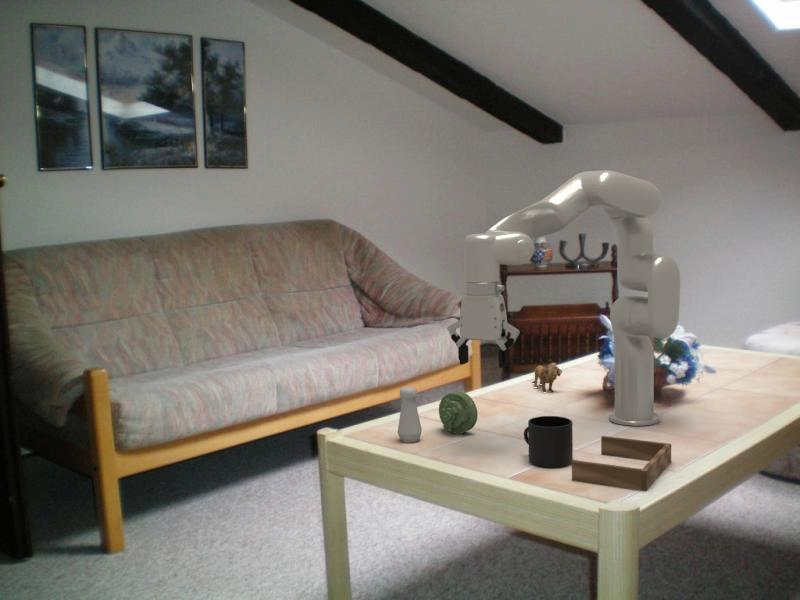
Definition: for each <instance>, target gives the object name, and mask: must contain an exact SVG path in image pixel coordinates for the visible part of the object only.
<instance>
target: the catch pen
mask: <svg viewBox="0 0 800 600" xmlns="http://www.w3.org/2000/svg"><path fill="white" fill-rule="evenodd" d="M600 440H601V441H600V442H601V443H600V444H601V445H600V447H601V449H600V452H601V455H602V456H611V457H617V458H627V459H634V460H640V461H641V460H642V461H648V462H647V463H646V464H645V465H644V467H642V468H638V467H637V468H636V467H630V466H629V467H628V466H623V465H621V466H620V465H616V464H615V465H614V464H613V465H612V464H608V463H607V464H606V463H599V462H592V461H585V460H578V459H573V461H572V463H571V481H575V482H580V481H581V483H587V484H593V485H594V484H595V485H601V486H602V485H603V486H608V487H614V488H621V489H622V488H623V489H629V490H635V491H640V492H641V491H643V492H646V491H648V490H649V488H650V487H651V486H652V485H653V484H654V483H655V481H656V480H657V479H658V478H659V477H660V475H661V474H662V473H663V472H664V471H665V470H666V468H667V467H668V466H669V465H670V464H671V463H672V443H669V442H668V443H666V442H658V441H648V440H640V439H632V438H624V437H615V436H607V435H602V436H601V439H600Z"/></svg>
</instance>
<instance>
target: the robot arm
mask: <svg viewBox="0 0 800 600" xmlns="http://www.w3.org/2000/svg"><path fill="white" fill-rule="evenodd" d="M661 203H662V197H661V192H660V190H659V189H658V187H657V186H656V185H655V184H654V183H653V182H650V181H648V180H645V179H641V178H638V177H635V176H632V175H628V174H625V173H622V172H619V171H614V170H609V169H608V170H607V169H606V170H589V171H588V170H587V171H582V172H579V173H577V174H575V175H574V176H572V177H571V178H570V179H568V180H567V181H565V182H564V183H563V184H561V185H560V186H559V187H557V188H556V189H555V190H553V191H552V192H551V193H550V194H548V195H547V196H544V198H542V199H541V200H539V201H537V202H535V203H532V204H531V205H530V204H529V205H528V206H526V207H524V208H523V209H520V210H517V211H515V212H513V213H511V214H510V215H508V216H506V217H504V218H503V219H501V220H500V221H498V222H497V223H495V224H494V225H493V226H491V227H490V228H489V229H487V230H486V231H485V232H484V233H473V234H468V235H466V236H465V238H464V245H463V246H464V247H463V248H464V252H463V253H464V295H462V298H461V303H460V312H459V320H458V321H456V322H454V323H452V324H451V325H448V326H447V331H448V333H449V335H450V338H451V340H452V341H453V343H455V346H456V347H457V351H458V352H457V353H458V360H459V365H460V366H463V365H465V364H467V363H469V345H468V344H467V343H468V342H469V341H482V342H483V341H484V342H495V343H496V344H497V345H498V346H499V347H498V348H500V349H499V350H498V367H499V368H500V369H503V368H506V367H508V364H509V362H510V357H509V356H510V355H509V354H510V352H509V351H510V350H509V349H511V348H512V346H513V345H514V344H515V343H516V342H517V339H518V337H519V335H520V333H521V331H520V330H519V329H518V328H516V327H515V326H513V325H511V324H510V323H509V322H508V318H507V317H508V315H507V310H506V309H507V308H506V303H505V300H504V295H502V294H500V293H501V292H504V291H505V284H501V282H500V274H499V273H500V267H499V266H500V265H508V266H520V265H523V264H526V263H528V262H529V261H530V260H531V259H532V257H533V255H534V254H535V244H534V241H533V239H535V238H538V237H543V236H548V235H553V234H555V233H556V234H557V233H558V232H561V231H564V230H565V229H566V228H568V227H569V226H570V225H572V224H573V223H574V222H576V220H578V219H579V218H580V217H582V216H583V215H584V214H586V213H587V212H588V211H589V210H591V209H593V208H599V209H600V211H601V212H602V213H603V214H604V215H605V216H606V217H607V218H608V219H609V220H610V221H611V223H612V224H613V226H614V227H615V230H616V234H617V264H616V266H617V267H616V269H617V270H616V271H617V272H616V273H617V281H618V284H619V285H620V286H621V287H622V288H624V289H626V290H629V291H636V292H647V296H644V295H643V296H642V295H632V294H631V295H624V296H621V297H619V298H617V299H616V300H615V301H614V302H613V303H612V305H611V308H610V311H609V316H610V319H609V321H610V324H611V325H610V326H611V330H612V335H613V346H614V349H613V350H614V361H613V362H614V410H613V411H611V412H609V413H608V420H609V421H610V422H612V423H614V424H618V425H622V426H631V427H632V426H636V427H637V426H638V427H640V426H643V427H644V426H651V425H656V424H657V423H659V422H660V421H661V415H660V414H658V413H657V412H655V411H654V410H655V409H654V401H655V399H654V396H655V395H654V390H655V389H654V388H655V387H654V384H655V383H654V378H655V377H654V371H655V370H654V367H655V365H654V364H655V363H654V362H655V358H654V357H655V356H654V355H655V354H654V352H655V351H654V347H653V343H652V340H651V338H654V339H655V338H656V339H665V338H668V337H670V336H672V335H673V334H674V332H675V331H676V329H677V327H678V323H679V318H680V299H681V272H680V271H681V270H680V268H679V266H678V263H677V262H676V260H675V259H674V258H673V257H672V256H670V255H668V254H666V253H655V252H654V229H653V227H652V224H651V222H650V220H649V217H652V216H654V215H655V214H656V213H657V212H658V210H659V209H660V207H661ZM458 328H459V334H458V332H457V329H458ZM508 333H510V337H509V338H508V339H507V337H508Z"/></svg>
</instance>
